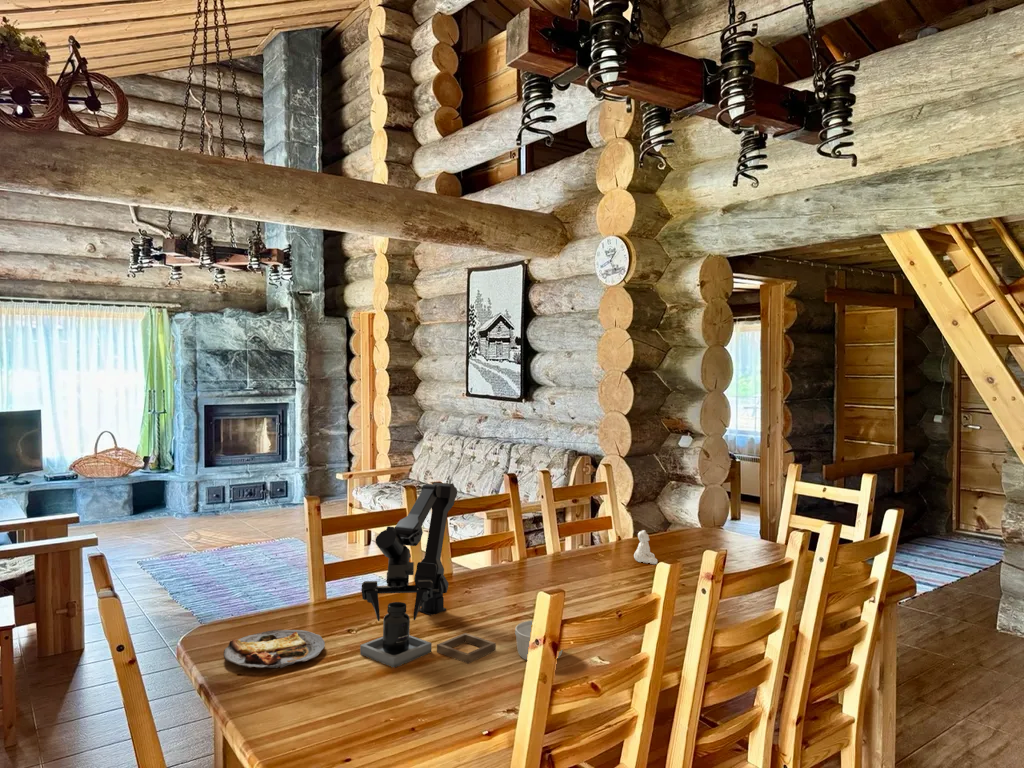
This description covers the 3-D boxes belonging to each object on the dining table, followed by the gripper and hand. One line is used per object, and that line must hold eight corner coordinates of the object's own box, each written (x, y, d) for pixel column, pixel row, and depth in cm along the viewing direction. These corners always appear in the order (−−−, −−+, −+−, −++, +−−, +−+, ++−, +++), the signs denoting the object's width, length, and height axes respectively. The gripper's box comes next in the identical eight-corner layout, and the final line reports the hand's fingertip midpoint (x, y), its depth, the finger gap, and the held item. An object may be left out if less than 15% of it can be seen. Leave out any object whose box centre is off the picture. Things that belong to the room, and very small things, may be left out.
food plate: (228, 680, 175) (229, 665, 175) (218, 646, 196) (218, 633, 196) (333, 664, 187) (334, 650, 187) (313, 634, 207) (313, 621, 207)
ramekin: (570, 649, 197) (571, 623, 197) (557, 668, 184) (558, 641, 184) (523, 642, 201) (524, 617, 201) (507, 660, 189) (508, 634, 188)
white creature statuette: (658, 565, 278) (659, 533, 278) (635, 564, 279) (636, 533, 278) (653, 558, 288) (654, 527, 288) (631, 557, 288) (632, 527, 288)
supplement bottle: (404, 656, 188) (404, 610, 188) (378, 653, 190) (379, 607, 189) (412, 646, 195) (413, 601, 195) (388, 643, 196) (388, 599, 196)
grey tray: (360, 654, 191) (360, 644, 191) (397, 639, 201) (397, 630, 201) (394, 668, 183) (394, 658, 183) (431, 652, 193) (431, 642, 193)
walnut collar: (436, 652, 193) (436, 644, 193) (465, 640, 202) (465, 632, 202) (467, 663, 187) (467, 655, 186) (495, 650, 195) (495, 642, 195)
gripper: (362, 551, 195) (357, 606, 185) (432, 550, 197) (432, 604, 187) (364, 572, 203) (360, 626, 193) (432, 570, 205) (432, 624, 195)
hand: (396, 620), depth 192 cm, fingers open, 9 cm apart
